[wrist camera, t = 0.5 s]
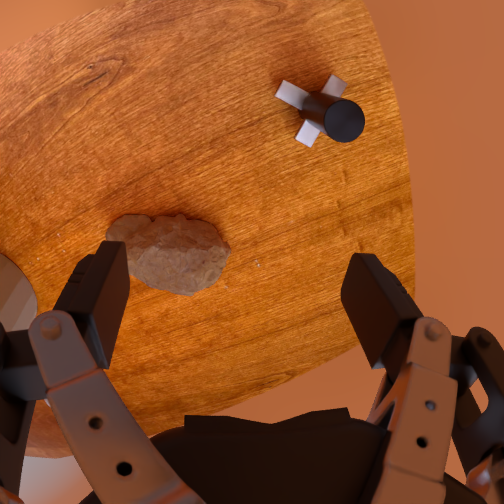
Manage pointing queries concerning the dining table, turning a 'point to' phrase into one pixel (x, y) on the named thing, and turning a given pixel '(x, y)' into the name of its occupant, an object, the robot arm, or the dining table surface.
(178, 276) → the stone tool
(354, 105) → the blade unit
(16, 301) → the processor bowl
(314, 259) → the dining table surface
